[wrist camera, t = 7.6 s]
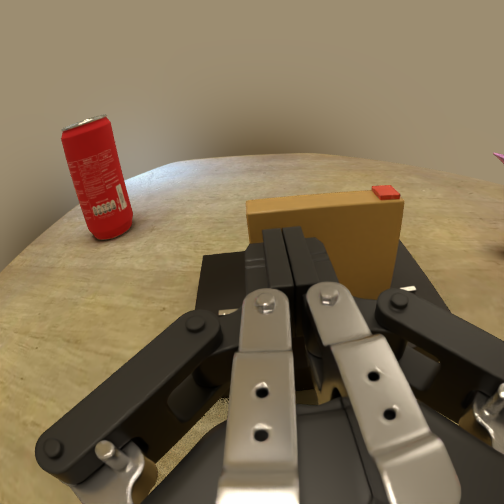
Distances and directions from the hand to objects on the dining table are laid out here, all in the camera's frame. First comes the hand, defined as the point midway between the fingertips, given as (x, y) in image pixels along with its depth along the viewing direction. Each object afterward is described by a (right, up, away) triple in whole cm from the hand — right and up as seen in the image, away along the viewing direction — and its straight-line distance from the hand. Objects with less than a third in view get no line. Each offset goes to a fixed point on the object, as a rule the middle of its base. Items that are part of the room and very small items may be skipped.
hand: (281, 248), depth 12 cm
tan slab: (+3, -3, +4) cm, 6 cm away
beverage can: (-16, +2, +19) cm, 25 cm away
